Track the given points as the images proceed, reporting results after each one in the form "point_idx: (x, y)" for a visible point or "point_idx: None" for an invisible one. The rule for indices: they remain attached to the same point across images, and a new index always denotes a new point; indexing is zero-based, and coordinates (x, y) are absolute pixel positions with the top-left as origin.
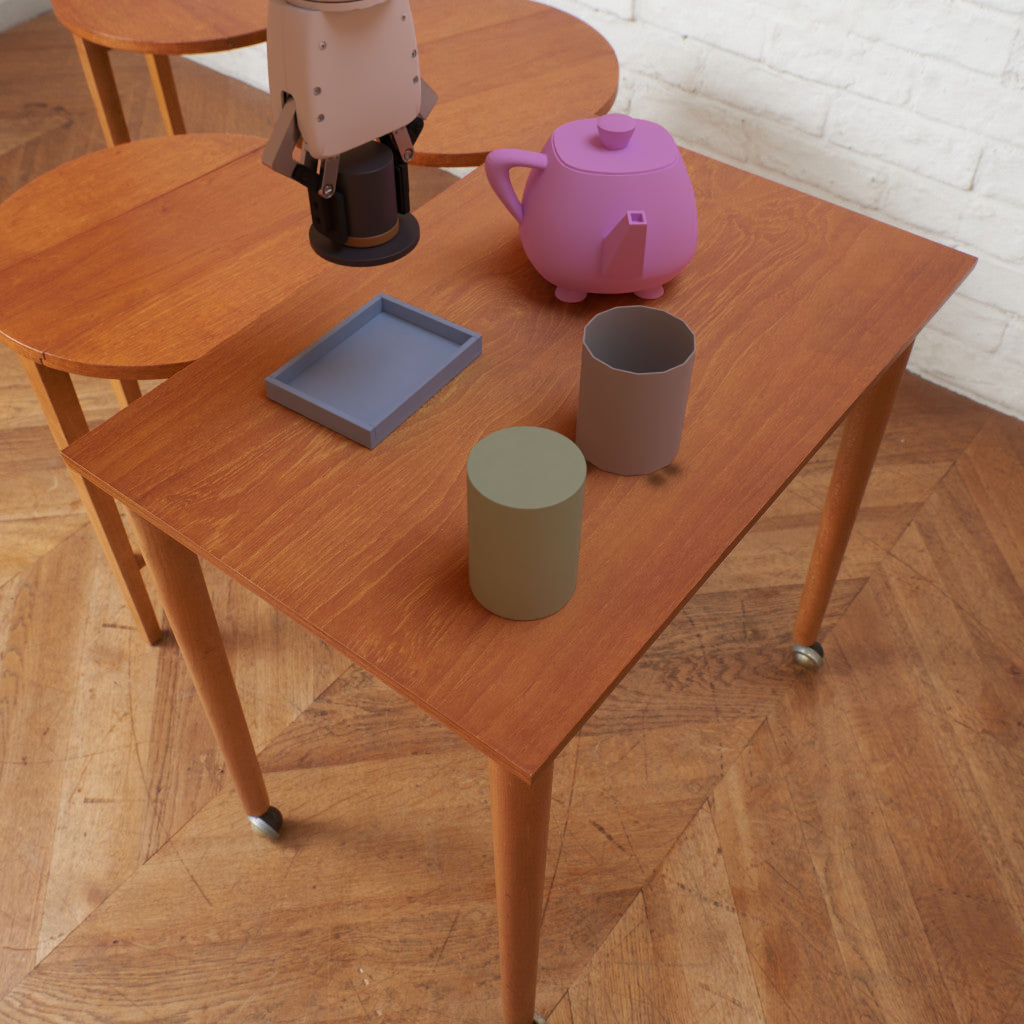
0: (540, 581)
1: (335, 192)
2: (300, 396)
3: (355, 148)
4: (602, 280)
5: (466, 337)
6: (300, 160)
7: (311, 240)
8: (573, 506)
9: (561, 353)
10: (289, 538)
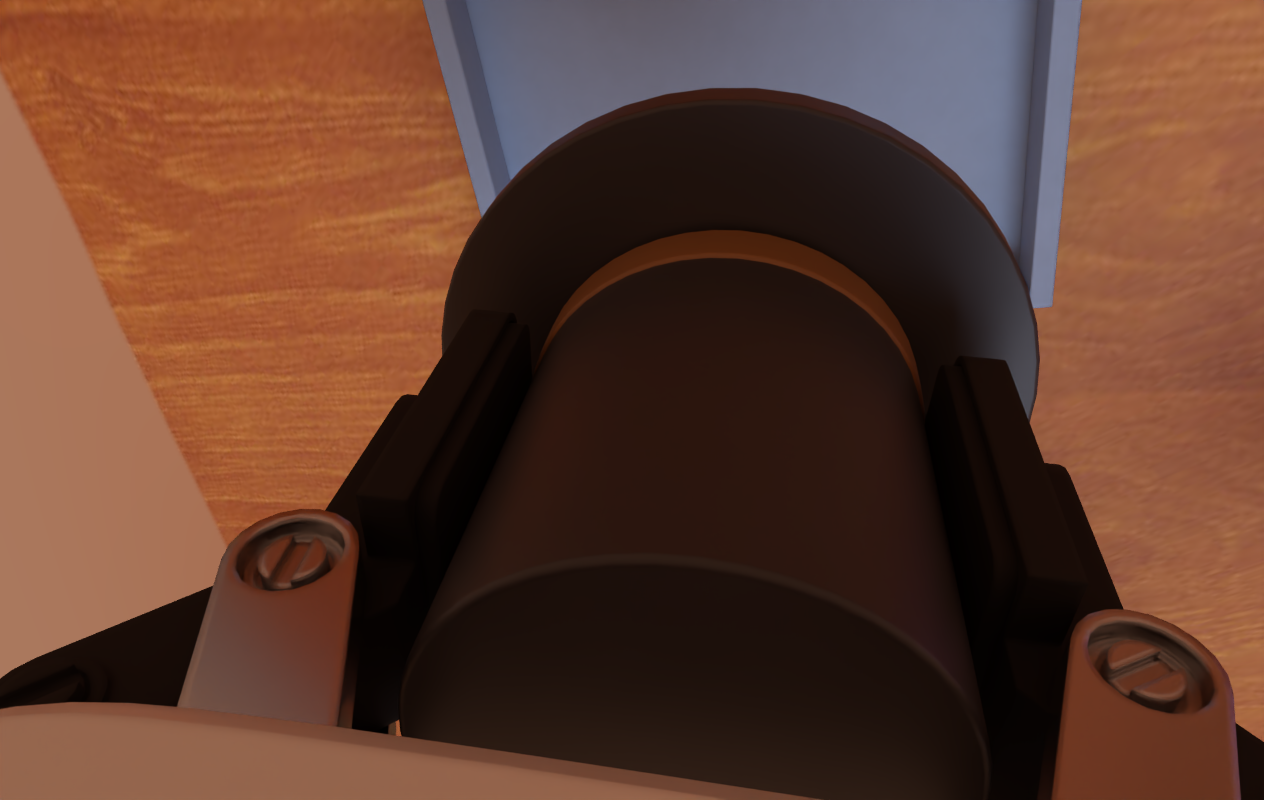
0: None
1: None
2: (452, 109)
3: (760, 725)
4: None
5: (1028, 260)
6: (192, 665)
7: (458, 275)
8: None
9: (1160, 427)
10: (250, 365)
